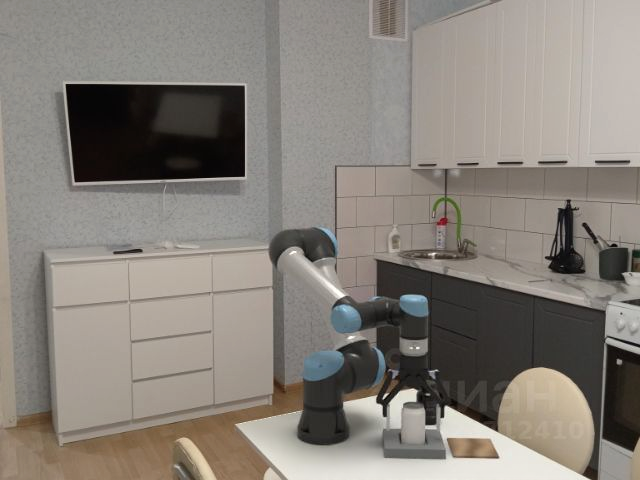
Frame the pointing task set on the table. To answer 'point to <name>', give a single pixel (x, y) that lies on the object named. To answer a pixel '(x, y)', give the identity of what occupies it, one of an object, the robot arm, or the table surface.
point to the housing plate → (414, 445)
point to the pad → (472, 448)
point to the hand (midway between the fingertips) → (413, 429)
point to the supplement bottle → (428, 403)
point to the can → (413, 423)
